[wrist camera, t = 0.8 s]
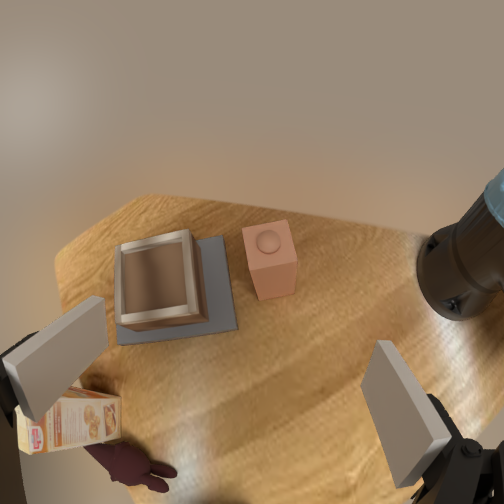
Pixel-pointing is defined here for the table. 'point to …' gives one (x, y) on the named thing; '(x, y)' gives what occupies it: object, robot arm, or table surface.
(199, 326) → the base board
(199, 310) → the brown square box
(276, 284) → the block
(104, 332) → the robot arm
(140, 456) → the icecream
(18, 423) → the coffeecake box
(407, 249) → the table surface
